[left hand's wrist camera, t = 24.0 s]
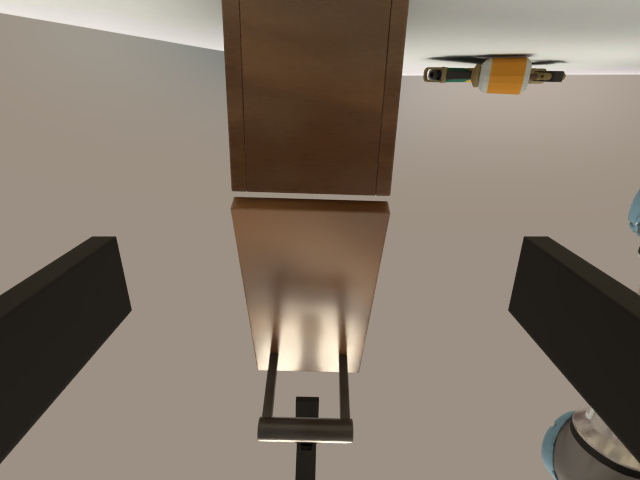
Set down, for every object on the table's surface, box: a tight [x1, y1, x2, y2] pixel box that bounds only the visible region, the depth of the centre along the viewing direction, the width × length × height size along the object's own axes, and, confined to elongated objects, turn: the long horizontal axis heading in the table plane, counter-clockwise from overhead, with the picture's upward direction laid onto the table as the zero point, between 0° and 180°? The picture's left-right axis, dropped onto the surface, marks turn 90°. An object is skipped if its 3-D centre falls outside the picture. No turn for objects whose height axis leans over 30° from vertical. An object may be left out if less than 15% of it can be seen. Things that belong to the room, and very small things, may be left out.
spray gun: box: [424, 57, 566, 94], centre depth 53 cm, size 4×17×15 cm
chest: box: [222, 0, 409, 196], centre depth 28 cm, size 18×9×11 cm, turn 0°
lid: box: [231, 197, 390, 444], centre depth 26 cm, size 19×9×8 cm
